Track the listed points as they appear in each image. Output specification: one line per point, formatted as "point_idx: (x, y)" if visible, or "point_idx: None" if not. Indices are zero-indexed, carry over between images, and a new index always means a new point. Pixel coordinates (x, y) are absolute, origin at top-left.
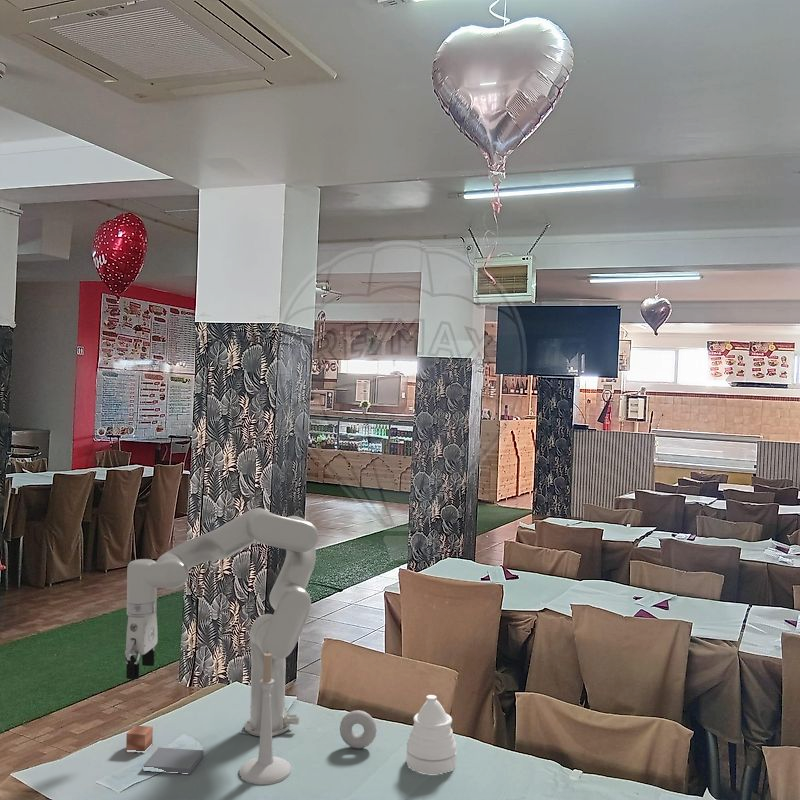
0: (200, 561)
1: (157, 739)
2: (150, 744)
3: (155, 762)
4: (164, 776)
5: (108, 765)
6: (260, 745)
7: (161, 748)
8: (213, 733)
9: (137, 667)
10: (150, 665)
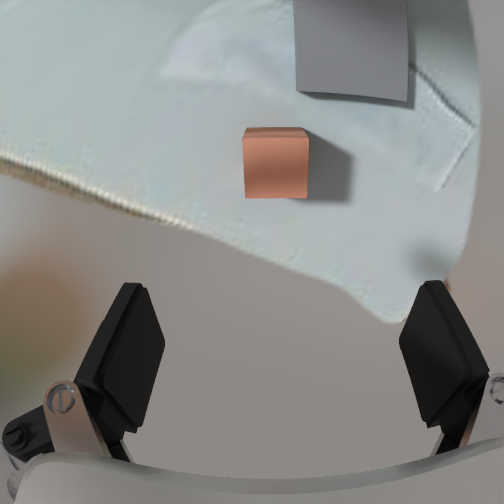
0: None
1: (210, 128)
2: (260, 128)
3: (388, 73)
4: (415, 43)
5: (372, 192)
6: None
7: (302, 80)
8: (143, 4)
9: (474, 351)
10: (149, 300)
